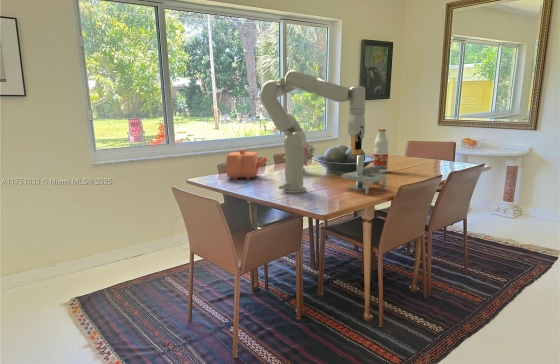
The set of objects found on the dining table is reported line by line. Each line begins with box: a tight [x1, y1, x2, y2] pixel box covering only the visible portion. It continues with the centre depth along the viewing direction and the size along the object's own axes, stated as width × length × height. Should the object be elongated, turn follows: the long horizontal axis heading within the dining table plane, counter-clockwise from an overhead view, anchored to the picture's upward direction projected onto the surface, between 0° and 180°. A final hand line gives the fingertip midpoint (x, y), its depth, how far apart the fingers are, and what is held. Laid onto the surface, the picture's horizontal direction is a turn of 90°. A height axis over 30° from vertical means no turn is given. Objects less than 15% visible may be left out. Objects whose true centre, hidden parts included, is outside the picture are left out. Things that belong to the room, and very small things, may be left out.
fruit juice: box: [372, 128, 389, 174], centre depth 246 cm, size 9×9×28 cm
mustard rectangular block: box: [351, 134, 362, 155], centre depth 189 cm, size 4×4×12 cm
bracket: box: [363, 165, 380, 185], centre depth 210 cm, size 14×2×10 cm, turn 129°
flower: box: [282, 141, 316, 173], centre depth 246 cm, size 20×22×24 cm
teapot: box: [225, 148, 269, 180], centre depth 235 cm, size 25×23×18 cm
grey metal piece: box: [341, 154, 387, 195], centre depth 202 cm, size 16×18×18 cm
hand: (356, 148), depth 190 cm, fingers closed on mustard rectangular block, 3 cm apart
